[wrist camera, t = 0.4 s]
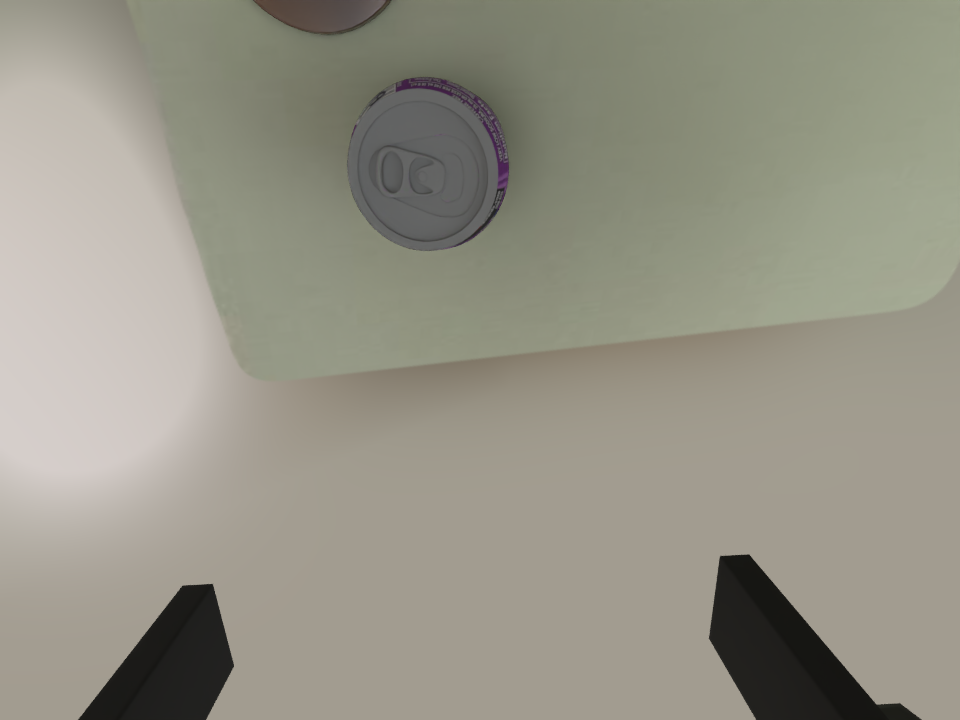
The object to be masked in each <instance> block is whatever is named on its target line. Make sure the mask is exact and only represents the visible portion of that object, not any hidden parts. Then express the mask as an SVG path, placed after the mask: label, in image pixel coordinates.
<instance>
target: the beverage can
mask: <svg viewBox="0 0 960 720" xmlns="http://www.w3.org/2000/svg"><path fill="white" fill-rule="evenodd" d="M347 169H348V178H349V184H350V188H351V191H352V194H353V197H354V199H355V202H356V204H357V206H358V208H359V209H360V211H361V213H362V214H363V216H364V217H365V218H366V220H367V221H368V222H369V223H370V224H371V225H372V227H373V228H374V229H376V230H377V231H378V232H379V233H380V234H381V235H383V236H384V237H386V238H387V239H389V240H390V241H392V242H394V243H396V244H398V245H401V246H403V247H406V248H409V249H414V250H421V251H434V250H442V249H448V248H452V247H456V246H459V245H461V244H463V243H465V242H467V241H469V240H471V239H472V238H474V237H475V236H477V235H478V234H479V233H480V232H482V231H483V230H484V229H485V228H486V227H487V226H488V224H489V223H490V222H491V221H492V219H493V218H494V217H495V215H496V213H497V212H498V210H499V208H500V206H501V204H502V201H503V199H504V196H505V192H506V188H507V183H508V175H509V162H508V152H507V147H506V143H505V138H504V134H503V130H502V127H501V125H500V123H499V120H498V119H497V117H496V115H495V114H494V112H493V111H492V109H491V108H490V107H489V106H488V105H487V104H486V103H485V102H484V101H483V100H482V99H481V98H479V97H478V96H476V95H475V94H473V93H471V92H470V91H468V90H467V89H465V88H463V87H461V86H459V85H457V84H455V83H453V82H450V81H447V80H443V79H439V78H430V77H418V78H411V79H406V80H403V81H400V82H397V83H395V84H393V85H391V86H389V87H387V88H386V89H384V90H383V91H381V92H380V93H379V94H377V95H376V96H375V97H374V98H373V99H372V100H371V101H370V102H369V103H368V105H367V106H366V107H365V109H364V110H363V111H362V113H361V115H360V116H359V118H358V120H357V122H356V125H355V127H354V130H353V133H352V137H351V141H350V146H349V151H348V160H347Z"/></svg>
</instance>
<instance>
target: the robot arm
mask: <svg viewBox="0 0 960 720" xmlns="http://www.w3.org/2000/svg"><path fill="white" fill-rule="evenodd" d="M709 639H710V641H711V642H712V644H713V646H714V648H715V650H716V651H717V653H718V655H719V656H720V658H721V660H722V662H723V663H724V665H725V667H726V668H727V670H728V672H729V674H730V675H731V677H732V679H733V681H734V682H735V684H736V686H737V687H738V689H739V691H740V692H741V694H742V696H743V698H744V700H745V701H746V703H747V705H748V706H749V708H750V710H751V712H752V713H753V715H754V717H755V718H756V720H921V719H920V718H919V717H917V716H916V715H915V714H913V713H912V712H910V711H909V710H908V709H907V708H905V707H904V706H903V705H901V704H900V703H899V704H884V705H883V704H881V705H876V704H875V702H874V701H873V700H872V699H871V698H870V697H869V695H868V694H867V693H866V692H865V691H864V689H863V688H862V687H861V686H860V685H859V683H858V682H857V681H856V680H855V679H854V678H853V677H852V675H851V674H850V673H849V672H848V671H847V670H846V668H845V667H844V666H843V665H842V663H841V662H840V661H839V660H838V659H837V658H836V657H835V656H834V654H833V653H832V652H831V650H830V649H829V648H828V647H827V646H826V645H825V644H824V642H823V641H822V640H821V639H820V638H819V636H818V635H817V634H816V633H815V632H814V630H813V629H812V628H811V627H810V626H809V625H808V623H807V622H806V621H805V620H804V619H803V617H802V616H801V615H800V614H799V613H798V612H797V610H796V609H795V608H794V607H793V606H792V605H791V603H790V602H789V601H788V600H787V599H786V597H785V596H784V595H783V594H782V593H781V592H780V590H779V589H778V588H777V587H776V586H775V585H774V583H773V582H772V581H771V580H770V579H769V577H768V576H767V575H766V574H765V573H764V572H763V570H762V569H761V568H760V567H759V566H758V565H757V563H756V562H755V561H754V560H753V559H752V557H751V556H750V555H732V556H720V560H719V567H718V575H717V583H716V590H715V597H714V605H713V613H712V620H711V628H710V636H709ZM233 667H234V664H233V660H232V656H231V653H230V648H229V645H228V641H227V637H226V633H225V629H224V625H223V622H222V618H221V614H220V610H219V606H218V602H217V598H216V595H215V591H214V587H213V584H204V585H186V586H182V587H181V588H180V590H179V591H178V592H177V594H176V595H175V596H174V597H173V599H172V600H171V602H170V603H169V604H168V605H167V607H166V608H165V609H164V610H163V612H162V613H161V614H160V615H159V617H158V618H157V619H156V621H155V622H154V623H153V624H152V626H151V627H150V628H149V630H148V631H147V632H146V633H145V635H144V636H143V637H142V639H141V640H140V641H139V643H138V644H137V645H136V646H135V648H134V649H133V650H132V651H131V653H130V654H129V655H128V657H127V658H126V659H125V660H124V662H123V663H122V664H121V666H120V667H119V668H118V670H117V671H116V672H115V673H114V675H113V676H112V677H111V678H110V680H109V681H108V682H107V684H106V685H105V686H104V687H103V689H102V690H101V691H100V693H99V694H98V695H97V696H96V698H95V699H94V700H93V702H92V703H91V704H90V706H89V707H88V708H87V709H86V710H85V712H84V713H83V714H82V716H81V717H80V718H79V719H78V720H206V719H207V717H208V715H209V713H210V711H211V709H212V707H213V705H214V703H215V701H216V700H217V697H218V696H219V694H220V692H221V690H222V688H223V686H224V684H225V682H226V680H227V678H228V677H229V675H230V673H231V671H232V668H233Z"/></svg>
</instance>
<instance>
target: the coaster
mask: <svg viewBox="0 0 960 720" xmlns="http://www.w3.org/2000/svg"><path fill="white" fill-rule="evenodd" d="M253 1H254V2H255V3H257V4H258V5H259V6H260V7H261V8H262V9H263V10H265V11H266V12H267V13H269V14H270V15H272V16H273V17H274V18H276V19H278V20H280V21H281V22H283V23H285V24H287V25H289V26H292V27H294V28H297V29H300V30H302V31H306V32H310V33H315V34H327V35H330V34H340V33H344V32H348V31H352V30H354V29H357V28H359V27H361V26H363V25H365V24H366V23H368V22H369V21H371V20H372V19H374V18H375V17H376V16H377V15H378V14H380V13H381V12H382V11H383V10H384V9H385V8H386V6H387V5H388V4H389V3H390V1H391V0H253Z"/></svg>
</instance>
